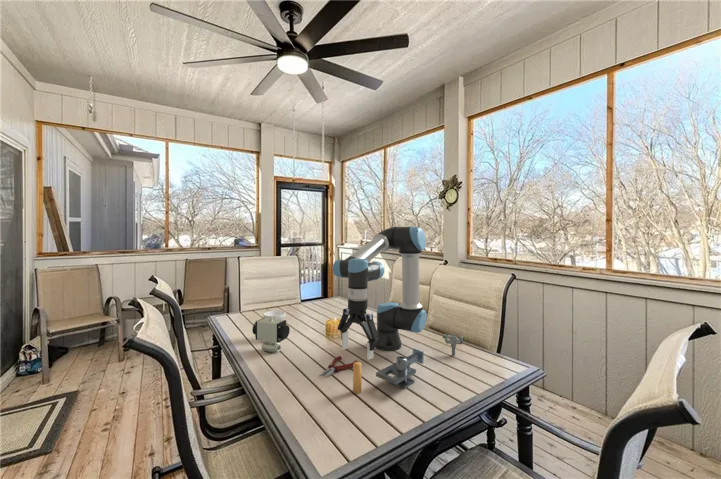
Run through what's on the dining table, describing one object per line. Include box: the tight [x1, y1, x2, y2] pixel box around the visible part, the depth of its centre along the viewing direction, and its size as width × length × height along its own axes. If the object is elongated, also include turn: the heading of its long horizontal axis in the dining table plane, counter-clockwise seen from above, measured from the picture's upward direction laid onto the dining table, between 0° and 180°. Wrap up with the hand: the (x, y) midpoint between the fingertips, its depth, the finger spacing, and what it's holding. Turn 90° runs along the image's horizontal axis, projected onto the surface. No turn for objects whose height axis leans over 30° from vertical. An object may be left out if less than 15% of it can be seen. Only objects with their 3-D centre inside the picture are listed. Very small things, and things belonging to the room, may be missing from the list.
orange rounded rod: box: [352, 361, 363, 395], centre depth 121 cm, size 3×3×11 cm
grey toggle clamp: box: [375, 348, 425, 390], centre depth 129 cm, size 10×23×10 cm, turn 136°
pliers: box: [319, 355, 359, 378], centre depth 140 cm, size 12×20×3 cm, turn 148°
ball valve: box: [252, 317, 291, 353], centre depth 161 cm, size 18×8×18 cm, turn 71°
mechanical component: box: [442, 333, 465, 357], centre depth 156 cm, size 3×10×10 cm, turn 78°
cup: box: [262, 309, 287, 320], centre depth 178 cm, size 12×12×15 cm
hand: (357, 353), depth 120 cm, fingers open, 13 cm apart
